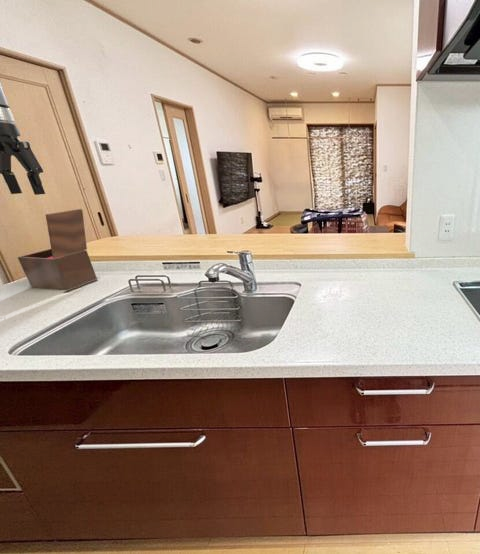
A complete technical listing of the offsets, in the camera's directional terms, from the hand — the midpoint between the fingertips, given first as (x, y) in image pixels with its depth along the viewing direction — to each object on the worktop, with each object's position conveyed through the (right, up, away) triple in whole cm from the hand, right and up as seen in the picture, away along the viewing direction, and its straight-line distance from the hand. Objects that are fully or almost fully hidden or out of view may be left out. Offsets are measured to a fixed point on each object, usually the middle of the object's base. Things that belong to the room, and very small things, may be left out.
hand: (28, 193), depth 104 cm
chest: (0, -33, +13) cm, 35 cm away
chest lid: (+9, -13, +4) cm, 17 cm away
